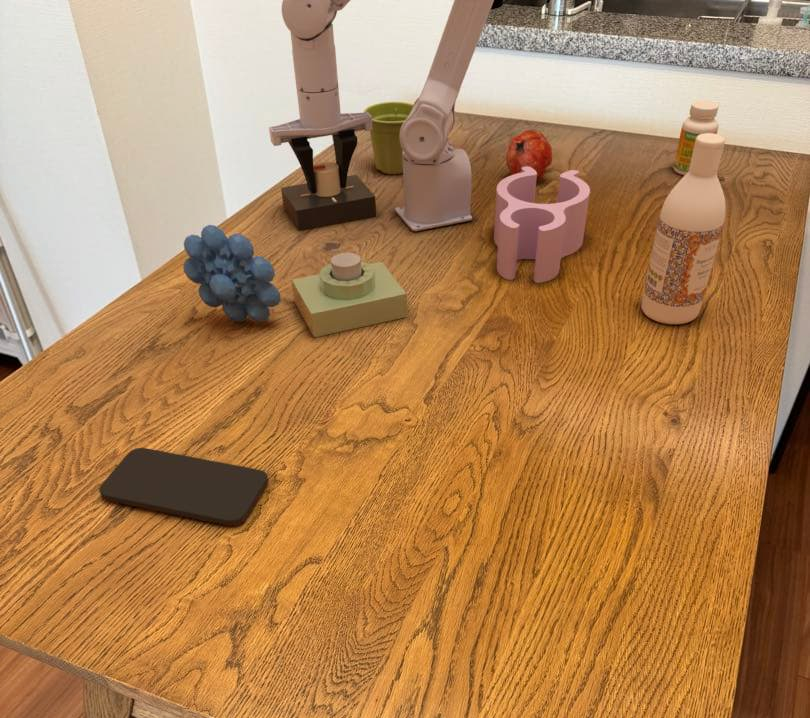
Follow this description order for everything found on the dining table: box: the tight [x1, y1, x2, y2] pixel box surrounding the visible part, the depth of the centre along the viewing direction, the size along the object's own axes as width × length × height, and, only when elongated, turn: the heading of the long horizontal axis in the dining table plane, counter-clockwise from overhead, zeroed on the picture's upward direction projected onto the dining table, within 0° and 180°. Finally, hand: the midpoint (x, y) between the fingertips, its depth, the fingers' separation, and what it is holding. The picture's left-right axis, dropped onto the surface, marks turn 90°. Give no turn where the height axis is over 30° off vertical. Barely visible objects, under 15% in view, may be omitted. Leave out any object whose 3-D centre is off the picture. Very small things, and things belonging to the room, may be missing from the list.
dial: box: [313, 161, 341, 197], centre depth 115 cm, size 4×4×4 cm
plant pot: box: [363, 101, 414, 175], centre depth 127 cm, size 9×9×9 cm
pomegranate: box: [505, 129, 553, 182], centre depth 123 cm, size 7×7×10 cm
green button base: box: [291, 260, 408, 338], centre depth 96 cm, size 12×9×5 cm
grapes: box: [182, 224, 282, 323], centre depth 92 cm, size 12×7×12 cm, turn 78°
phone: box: [99, 447, 269, 527], centre depth 75 cm, size 7×1×15 cm
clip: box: [493, 166, 591, 284], centre depth 106 cm, size 20×12×7 cm, turn 165°
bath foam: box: [640, 133, 727, 325], centre depth 88 cm, size 7×7×20 cm
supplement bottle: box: [673, 100, 720, 177], centre depth 122 cm, size 5×5×10 cm
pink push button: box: [330, 252, 362, 281], centre depth 94 cm, size 4×4×2 cm
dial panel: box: [280, 174, 377, 232], centre depth 117 cm, size 12×9×3 cm
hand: (327, 188), depth 116 cm, fingers closed on dial, 4 cm apart
